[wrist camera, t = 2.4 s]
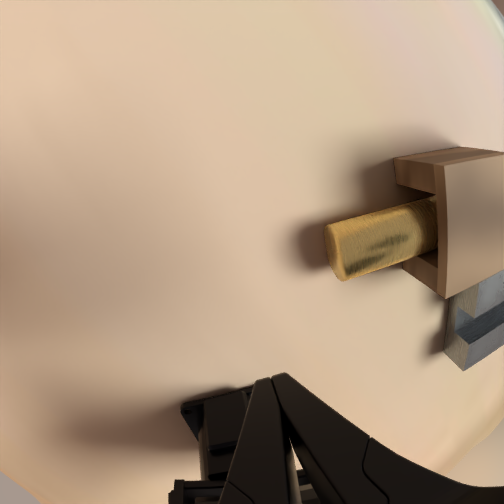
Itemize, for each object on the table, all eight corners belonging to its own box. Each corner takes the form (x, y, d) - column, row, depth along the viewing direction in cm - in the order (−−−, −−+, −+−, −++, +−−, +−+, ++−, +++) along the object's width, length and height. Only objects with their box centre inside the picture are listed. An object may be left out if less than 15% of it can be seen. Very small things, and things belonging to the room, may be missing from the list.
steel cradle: (517, 305, 23) (536, 318, 20) (443, 351, 22) (463, 371, 19) (527, 231, 20) (551, 241, 17) (451, 267, 19) (479, 283, 16)
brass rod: (467, 177, 17) (497, 200, 15) (459, 214, 19) (486, 238, 17) (322, 214, 16) (348, 248, 14) (324, 257, 18) (346, 292, 16)
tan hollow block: (465, 244, 19) (508, 266, 15) (402, 269, 19) (445, 299, 14) (461, 146, 16) (510, 153, 12) (393, 158, 16) (444, 165, 12)
